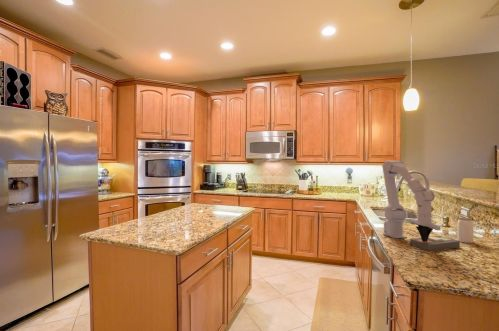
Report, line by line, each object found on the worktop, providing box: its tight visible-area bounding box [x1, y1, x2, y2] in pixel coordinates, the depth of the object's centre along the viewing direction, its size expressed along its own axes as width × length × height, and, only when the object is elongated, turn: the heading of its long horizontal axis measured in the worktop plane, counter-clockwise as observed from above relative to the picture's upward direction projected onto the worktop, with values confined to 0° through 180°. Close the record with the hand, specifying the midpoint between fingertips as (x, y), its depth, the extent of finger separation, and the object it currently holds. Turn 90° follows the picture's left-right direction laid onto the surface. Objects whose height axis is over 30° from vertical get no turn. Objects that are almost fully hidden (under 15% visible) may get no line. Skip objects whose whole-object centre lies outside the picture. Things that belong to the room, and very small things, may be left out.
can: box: [456, 217, 474, 244], centre depth 132 cm, size 6×6×12 cm
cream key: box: [428, 236, 442, 242], centre depth 125 cm, size 4×4×2 cm
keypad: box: [409, 235, 461, 252], centre depth 125 cm, size 10×20×3 cm, turn 105°
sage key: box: [440, 236, 452, 241], centre depth 126 cm, size 4×4×2 cm
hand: (424, 241), depth 123 cm, fingers closed, pressing on terracotta key
